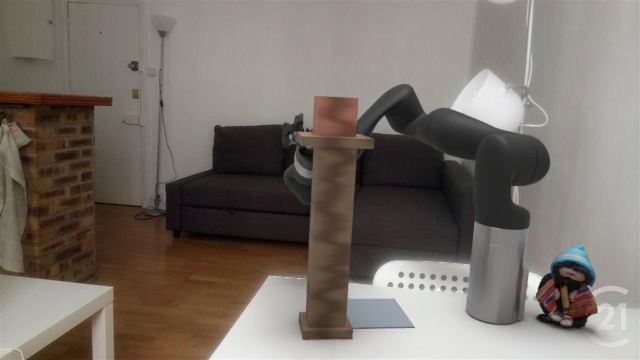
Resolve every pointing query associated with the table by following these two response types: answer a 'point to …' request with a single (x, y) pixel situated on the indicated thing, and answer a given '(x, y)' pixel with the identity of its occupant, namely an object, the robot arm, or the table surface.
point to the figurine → (568, 290)
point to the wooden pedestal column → (330, 234)
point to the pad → (376, 314)
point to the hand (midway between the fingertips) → (325, 118)
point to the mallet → (335, 116)
